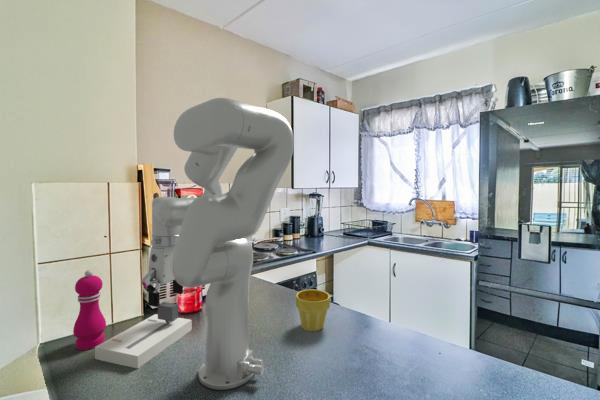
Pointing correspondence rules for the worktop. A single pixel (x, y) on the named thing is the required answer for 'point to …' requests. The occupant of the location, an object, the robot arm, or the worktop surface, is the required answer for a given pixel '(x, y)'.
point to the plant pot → (312, 308)
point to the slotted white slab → (142, 341)
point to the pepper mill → (89, 313)
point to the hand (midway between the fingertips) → (166, 299)
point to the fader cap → (168, 311)
